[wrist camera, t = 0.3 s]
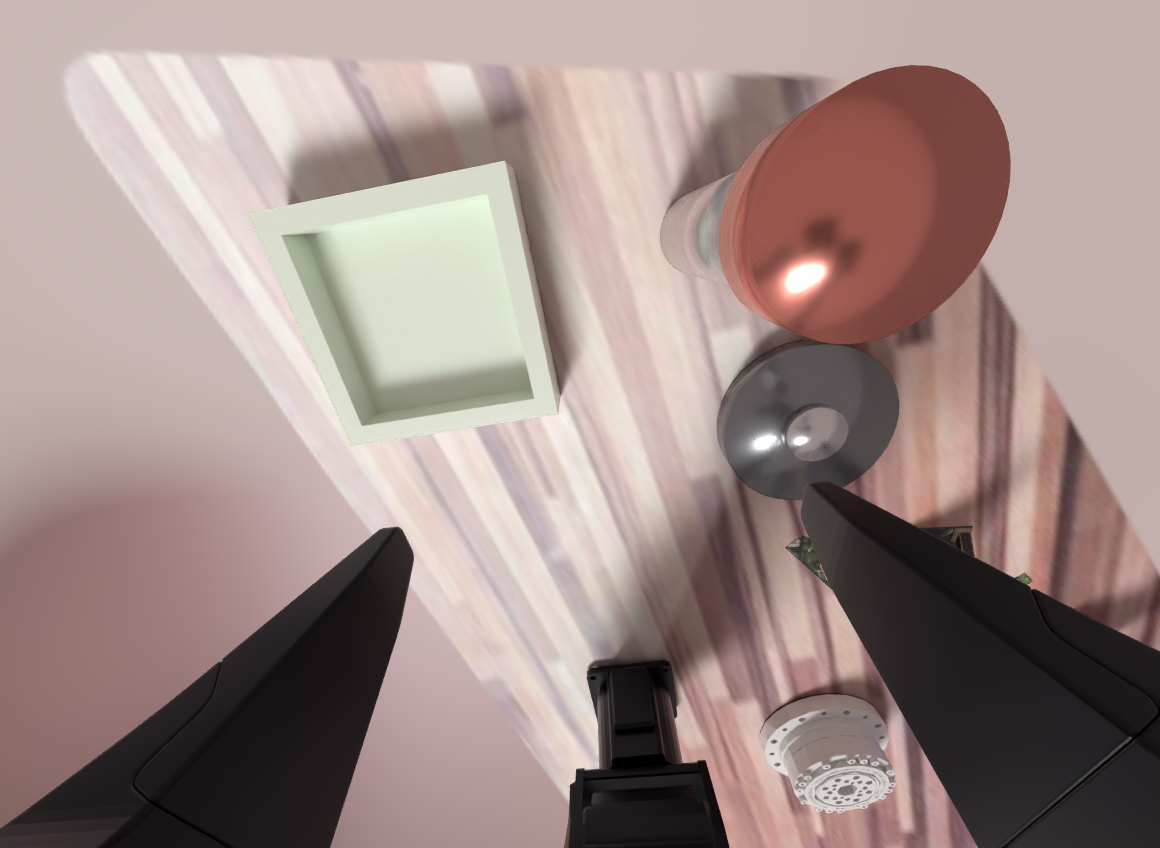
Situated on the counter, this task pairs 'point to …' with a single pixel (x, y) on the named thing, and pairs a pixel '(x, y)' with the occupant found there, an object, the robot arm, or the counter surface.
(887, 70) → the pin
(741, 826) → the counter surface
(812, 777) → the mechanical component
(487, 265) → the tray
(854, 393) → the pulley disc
